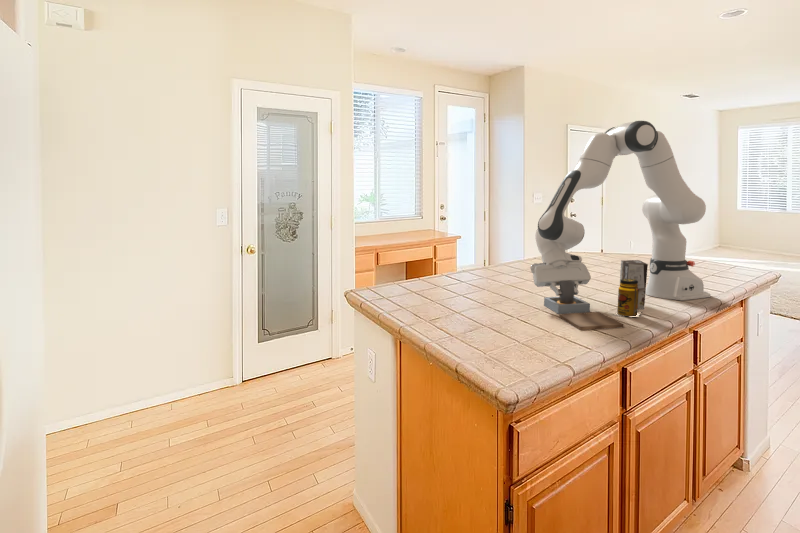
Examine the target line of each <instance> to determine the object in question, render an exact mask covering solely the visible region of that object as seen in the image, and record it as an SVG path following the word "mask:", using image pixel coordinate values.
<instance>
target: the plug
mask: <svg viewBox="0 0 800 533" xmlns="http://www.w3.org/2000/svg"><path fill="white" fill-rule="evenodd" d="M574 284H575V281H572V280H564V281H560V286H559V289H561V292H562V294H561V296H558V297H559V301H557V303H558V304H576V302H574V296H575V295H574Z"/></svg>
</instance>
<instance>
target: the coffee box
mask: <svg viewBox="0 0 800 533" xmlns="http://www.w3.org/2000/svg"><path fill="white" fill-rule="evenodd" d="M648 266H649V264H648V263H646V262H643V261H642V260H638V259H633V260H631V259H627V260H620V275H619V276H620V277H619V281H620V280H621V279H635V280H637V281H638V289H639V295H638V310H644V309H645V303H646V294H645V292H646V287H647V280H648V279H647V277H648Z"/></svg>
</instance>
